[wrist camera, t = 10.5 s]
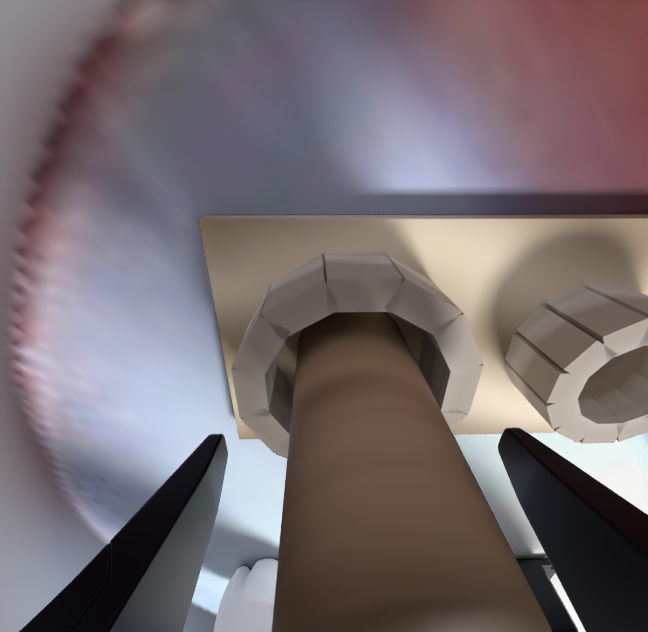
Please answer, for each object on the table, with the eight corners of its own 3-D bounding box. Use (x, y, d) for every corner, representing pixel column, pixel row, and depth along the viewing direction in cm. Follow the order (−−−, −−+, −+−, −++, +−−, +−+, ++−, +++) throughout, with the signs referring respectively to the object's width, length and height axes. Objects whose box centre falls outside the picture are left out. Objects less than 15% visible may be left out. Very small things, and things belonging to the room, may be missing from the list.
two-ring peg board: (602, 417, 18) (671, 479, 15) (242, 425, 18) (225, 491, 14) (723, 214, 13) (881, 234, 9) (206, 215, 12) (162, 237, 9)
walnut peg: (396, 388, 15) (504, 694, 7) (299, 390, 15) (278, 705, 6) (409, 301, 13) (604, 591, 4) (295, 302, 13) (254, 603, 4)
